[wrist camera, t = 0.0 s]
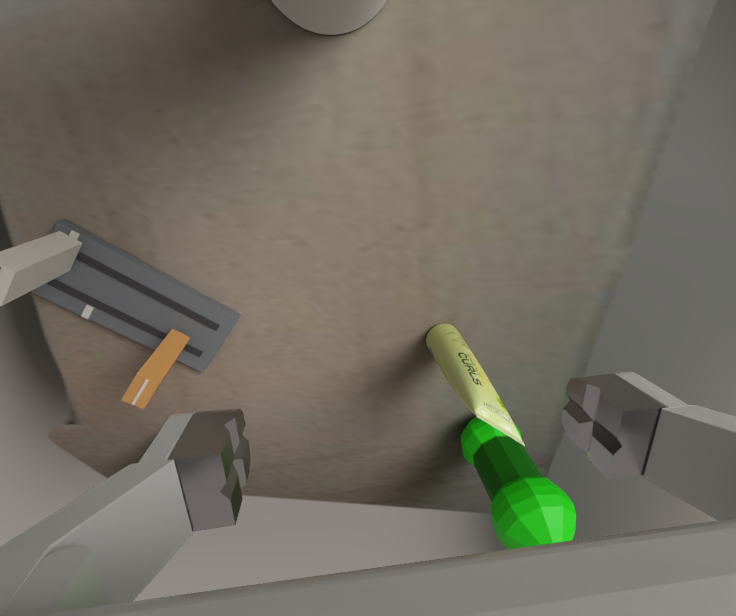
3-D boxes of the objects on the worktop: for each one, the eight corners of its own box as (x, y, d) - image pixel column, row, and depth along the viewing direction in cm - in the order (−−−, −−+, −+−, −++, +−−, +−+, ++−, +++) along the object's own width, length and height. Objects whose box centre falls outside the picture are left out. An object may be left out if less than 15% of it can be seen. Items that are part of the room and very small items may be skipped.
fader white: (47, 259, 42) (-31, 293, 32) (59, 230, 40) (-18, 257, 31) (69, 270, 42) (0, 306, 33) (82, 243, 41) (14, 272, 32)
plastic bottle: (442, 421, 61) (513, 586, 38) (499, 392, 60) (606, 544, 37) (465, 457, 65) (541, 624, 43) (519, 430, 64) (626, 588, 41)
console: (34, 286, 44) (25, 291, 43) (64, 219, 42) (56, 221, 40) (205, 367, 52) (202, 373, 50) (240, 314, 49) (238, 319, 48)
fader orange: (159, 351, 48) (120, 401, 39) (172, 328, 47) (136, 374, 38) (176, 359, 49) (142, 410, 39) (190, 337, 48) (159, 384, 38)
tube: (462, 320, 53) (532, 409, 36) (461, 349, 55) (525, 447, 38) (424, 324, 53) (476, 416, 35) (424, 353, 55) (473, 454, 37)
